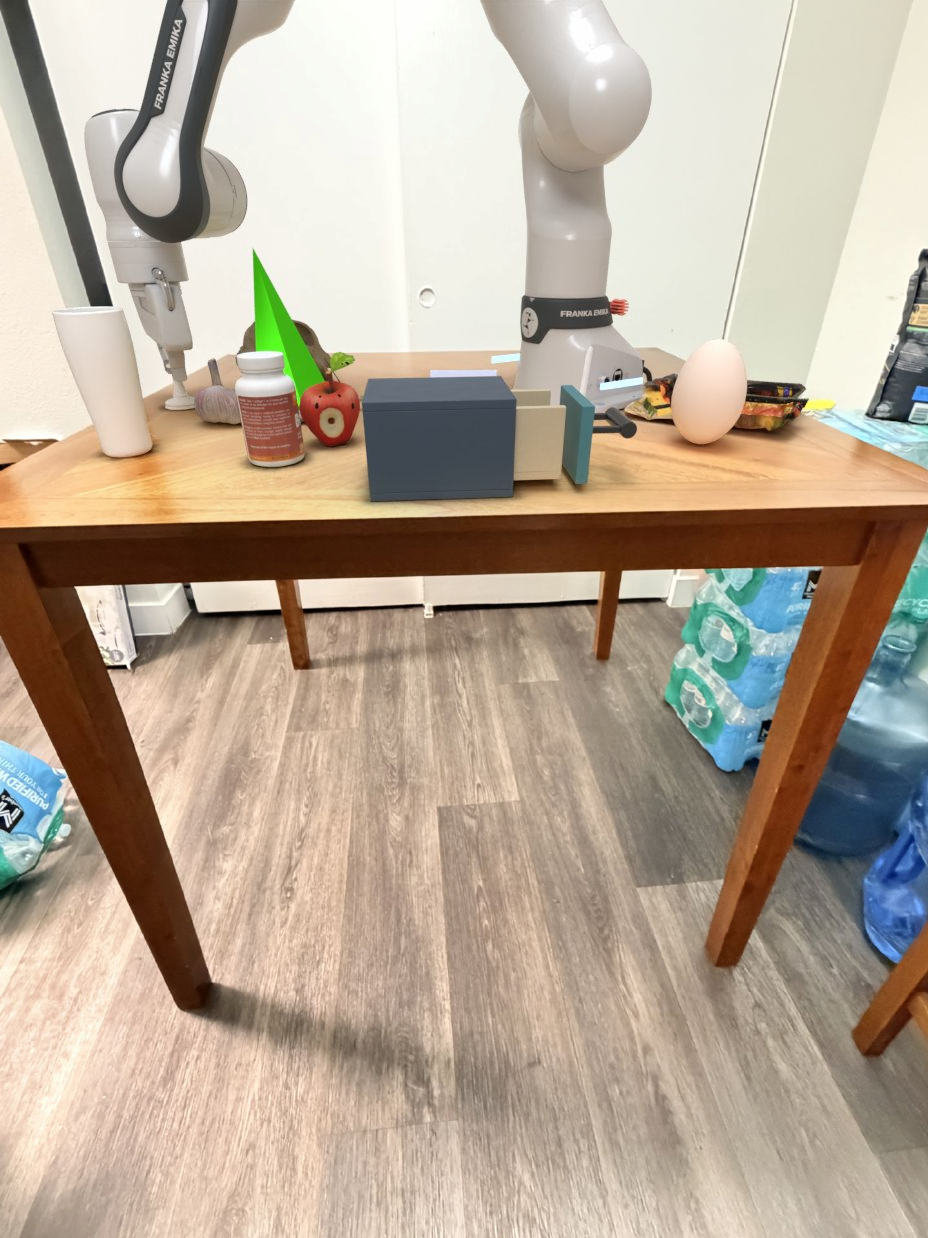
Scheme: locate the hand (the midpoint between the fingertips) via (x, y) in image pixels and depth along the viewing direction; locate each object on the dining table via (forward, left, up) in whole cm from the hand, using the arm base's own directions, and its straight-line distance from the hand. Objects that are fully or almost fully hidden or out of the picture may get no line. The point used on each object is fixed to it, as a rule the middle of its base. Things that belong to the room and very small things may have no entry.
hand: (176, 376), depth 90 cm
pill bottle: (-4, +33, -4) cm, 34 cm away
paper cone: (-13, +3, +16) cm, 20 cm away
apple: (-12, +30, -4) cm, 33 cm away
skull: (-18, -2, -6) cm, 19 cm away
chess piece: (0, 0, -4) cm, 4 cm away
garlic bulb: (-3, +14, -4) cm, 15 cm away
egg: (-49, +53, -4) cm, 73 cm away
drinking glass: (+10, +21, -4) cm, 23 cm away
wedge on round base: (-28, +29, -4) cm, 41 cm away
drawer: (-26, +53, -3) cm, 59 cm away
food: (-61, +45, 0) cm, 76 cm away
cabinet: (-17, +48, -4) cm, 51 cm away
